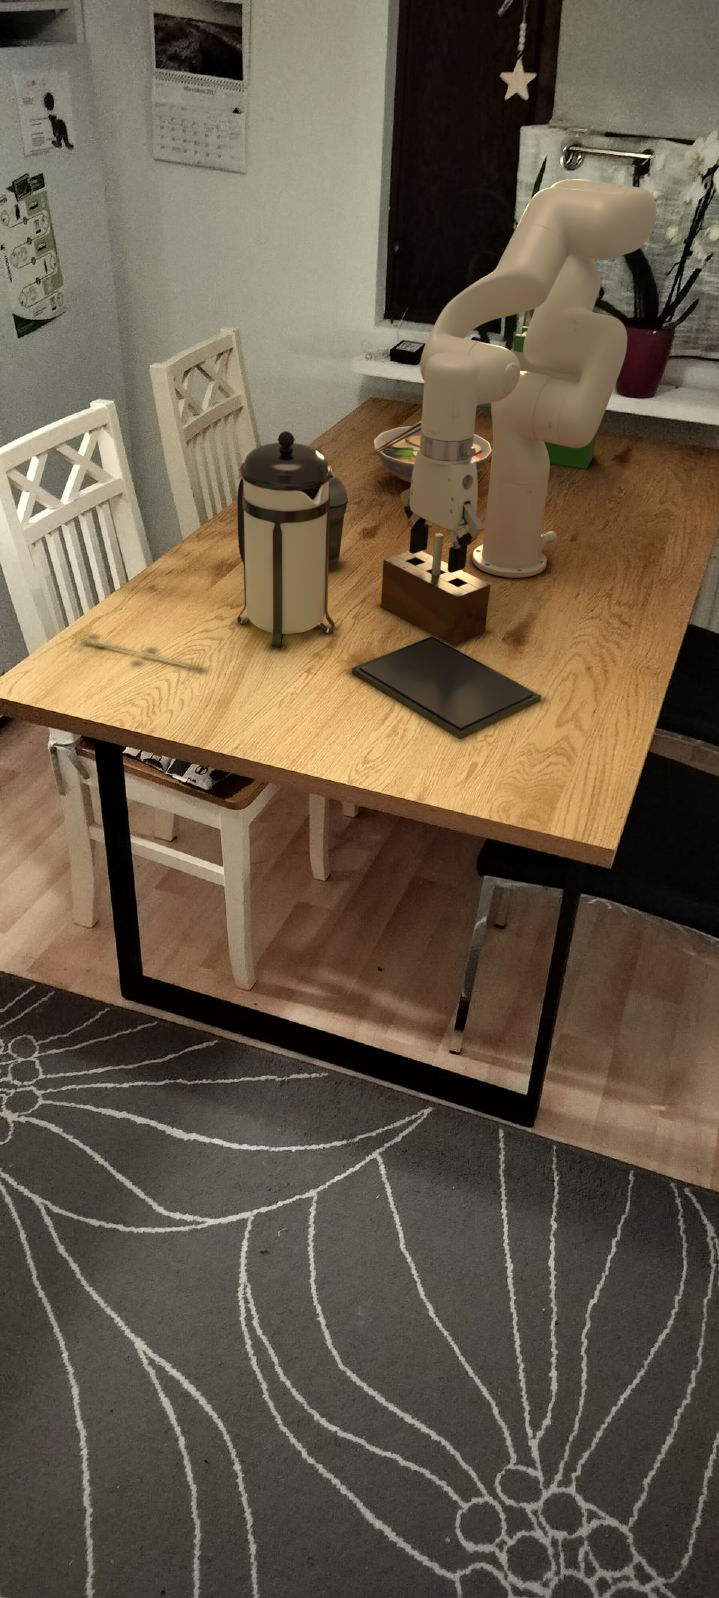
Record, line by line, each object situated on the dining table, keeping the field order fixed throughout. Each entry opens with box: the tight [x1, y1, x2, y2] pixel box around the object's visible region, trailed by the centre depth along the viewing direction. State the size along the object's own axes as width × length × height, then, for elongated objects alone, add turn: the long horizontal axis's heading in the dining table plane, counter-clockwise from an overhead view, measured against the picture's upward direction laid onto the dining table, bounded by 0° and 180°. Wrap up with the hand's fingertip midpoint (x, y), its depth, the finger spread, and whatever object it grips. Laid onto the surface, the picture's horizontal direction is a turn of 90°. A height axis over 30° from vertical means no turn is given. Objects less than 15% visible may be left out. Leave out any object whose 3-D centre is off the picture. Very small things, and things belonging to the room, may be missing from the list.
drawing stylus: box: [432, 532, 444, 576], centre depth 181 cm, size 1×1×14 cm
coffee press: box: [236, 430, 336, 649], centre depth 173 cm, size 17×16×30 cm
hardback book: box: [512, 325, 598, 470], centre depth 239 cm, size 18×7×24 cm, turn 71°
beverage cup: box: [317, 447, 349, 572], centre depth 194 cm, size 7×7×20 cm
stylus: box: [84, 637, 193, 668], centre depth 172 cm, size 4×1×19 cm
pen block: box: [380, 550, 491, 646], centre depth 183 cm, size 7×16×8 cm, turn 41°
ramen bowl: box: [369, 419, 493, 484], centre depth 230 cm, size 25×23×8 cm
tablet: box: [351, 636, 542, 739], centre depth 168 cm, size 22×16×1 cm
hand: (436, 559), depth 179 cm, fingers open, 7 cm apart
